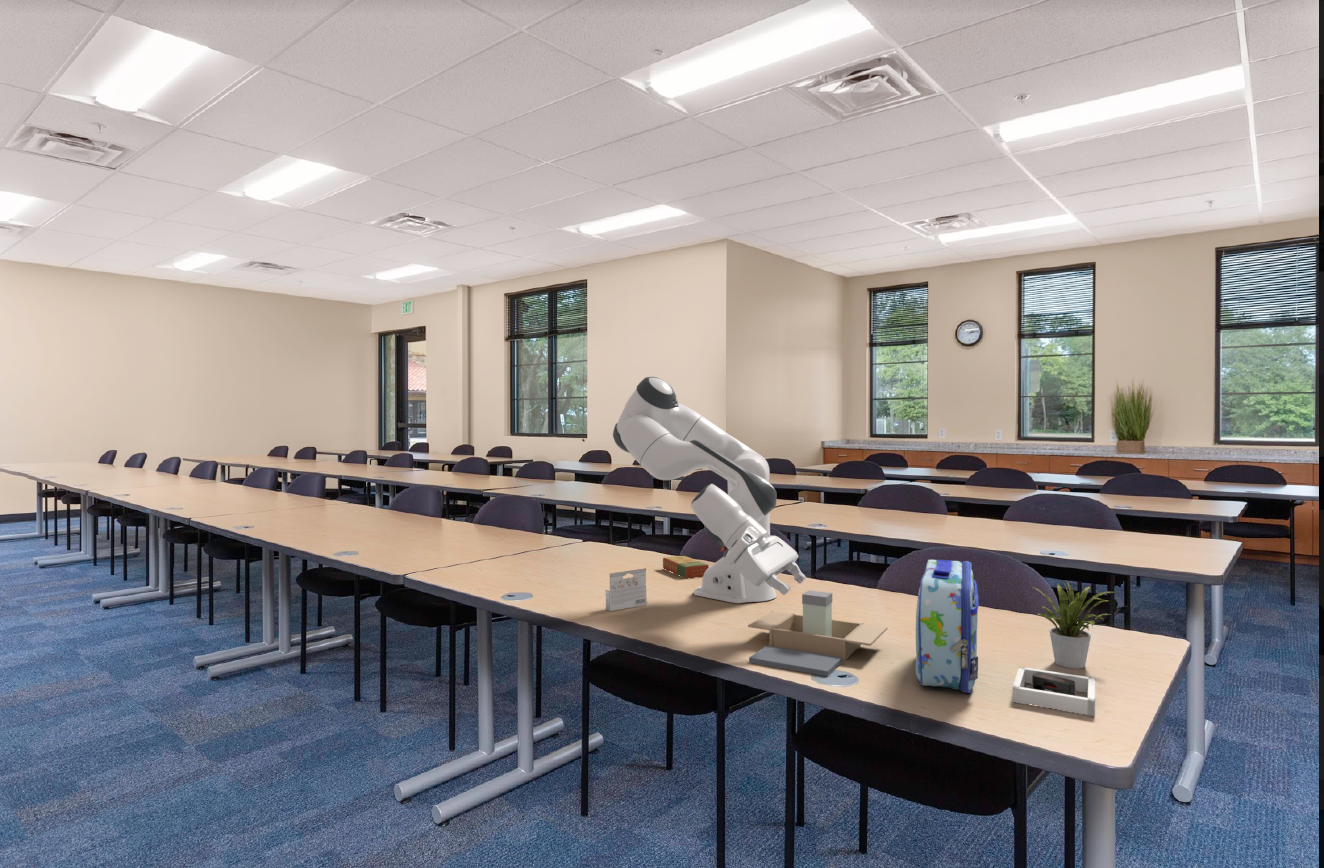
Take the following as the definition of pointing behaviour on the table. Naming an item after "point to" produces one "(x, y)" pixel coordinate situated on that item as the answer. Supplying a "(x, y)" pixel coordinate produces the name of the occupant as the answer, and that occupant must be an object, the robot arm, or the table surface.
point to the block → (817, 613)
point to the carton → (685, 566)
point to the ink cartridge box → (626, 590)
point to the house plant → (1071, 627)
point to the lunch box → (947, 626)
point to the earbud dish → (1052, 698)
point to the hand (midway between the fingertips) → (795, 586)
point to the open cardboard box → (841, 644)
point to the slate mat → (796, 660)
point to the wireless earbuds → (1052, 684)
